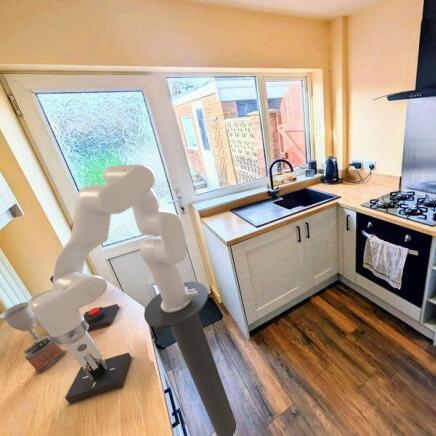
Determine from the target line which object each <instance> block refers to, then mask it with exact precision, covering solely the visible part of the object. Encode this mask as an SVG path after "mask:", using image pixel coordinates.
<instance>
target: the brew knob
mask: <svg viewBox="0 0 436 436" xmlns="http://www.w3.org/2000/svg"><path fill="white" fill-rule="evenodd" d="M103 360H104V359H103V357H102V358H100V359H98V361H99V362H101V364H102V365H103V367H104V368H105V370H107V369H108V368H107V366H106V364H105V363H104V361H103ZM95 362H96V361H95ZM89 366H90V364H89ZM83 369H84V371H85V372H86V374H87V375H88V376H89V378H90V379H91V381H92V380H93V379H94V378H93V377H92V376H91V374H90V373H89V371H88V370H89V369H88V368H83Z"/></svg>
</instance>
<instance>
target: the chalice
mask: <svg viewBox="0 0 436 436" xmlns="http://www.w3.org/2000/svg"><path fill="white" fill-rule="evenodd" d="M0 318H1V319H2V320H5V322H6V323H7V324H8V326H9V327H11V328H13V329H15V330H18V331H20V332H28V333H29V335H30V336H31V339H34V342H33V344H34V343H35V341H37V340H40V339H42V338H43V337H39V334H38V333H36V331H35V330H34V329H32V328H33V327H34V325H35V323H34V322H35V317H34V313H33V312H32V310H31V309H30V308H29V303H28V302H27V301H25V302H20V303H18V304H15V305H12V306H11V307H9V308H7V309H5V310H4V311H3V312H2V313H0Z"/></svg>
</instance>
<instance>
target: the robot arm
mask: <svg viewBox="0 0 436 436" xmlns="http://www.w3.org/2000/svg"><path fill="white" fill-rule="evenodd" d="M102 178H103V181H104V183H105V184H92V185H86V186H84V187H82V188H80V189H79V191H78V192H77V195H76V200H75V206H74V207H75V208H74V215H73V220H72V228H71V235H70V239H69V240H68V241H67V242H66V244H65V245H64V247H63V248H62V250H61V251H60V253H59V255H57V256H58V257H57V259H56V261H55V263H54V267H53V268H54V269H53V275H52V276H53V283H52V289H54V290H52V289H51V290H52V291H49V292H47V293H44V294H43V295H41V296H39V297H38V298H36V299H35V300H34V301H33V302H32V304H31V310H32V312H33V313H34V315H35V316H36V318H37V319H38V320H39V322H40V323H41V324H42V326H43V327H44V328H43V329H44V330H45V332H46V333H47V334H48V336H49V337H50V338H52V340H53V341H54V342H55V344H56V345H58V346H60V347H63V346H64V347H65V348H66V349H67V351H68V352H69V353H70V354H71V356H72V357H73V358H74V359H75V361H76V362H77V363H78V364H79V366H80V367H81V366H82V367H83V368H88V369H89V370H88V371H89V373H90V374H91V376H92V377H93V378H94V379H96V378H97V377H98V376H100V375H101V374H102V373H104V372H105V371H106V370H105V368H104V367H103V365H102V364H101V362H99V361H98V359H100V358H102V359H103V357H104V355H103V353H102V352H101V350H100V349H99V347H98V344H96V342H95V341H94V339H93V338H92V336H91V335H90V333H89V331H87V330H88V328H89V325H88V323H87V322H86V320H85V319H84V317H83V316H84V314H83V313H82V312H81V311H80V309H82V308H83V307H85V306H88V305H90V304H92V303H93V302H95V301H97V300H98V299H100V298H101V297H102V296H103V295H104V294H105V293H106V291H107V289H108V282H107V280H106V279H105V278H104V277H102V276H100V275H96V274H90V273H83V272H84V267H85V262H86V260H87V257H88V255H89V254H90V253H91V252H92V251H93V250H94V249H95V248H97V247H99V246H101V245H103V244H104V243H106V242H107V241H108V240H109V235H110V226H111V218H112V215H119V214H122V213H124V212H127V211H128V209H130V208H132V213H133V216H134V220H135V224H136V227H137V229H138V231H139V233H140V234H142V235H144V236H150V237H147V238H145V239H144V240H143V241H142V242H141V244H140V246H139V255H140V257H141V258H142V260H143V262H144V263H145V264H146V266H147V267H148V270H149V271H150V273H151V276H152V278H153V280H154V283H155V285H156V287H157V290H158V292H159V293H160V295H161V297H162V300H163V301H162V303H161V308H162V310H163V311H164V312H167V313H172V312H176V311H179V310H181V309H183V308H185V307H186V306H187V305H188V304H189V303H190V302H191V300H192V296H196V295H198V291H195V288H194V289H191V290H188V288H187V287H185V286H184V283H185V282H184V281H183V278H182V274H181V271H180V269H179V266H178V264H180V263H181V262H183V261H184V260H185V258H186V256H187V254H188V253H187V252H188V248H187V247H188V245H187V241H186V236H185V232H184V227H183V222H182V219H181V218H180V216H179V215H178V214H177V213H175V212H174V211H171V210H162V209H161V207H160V205H159V201H158V197H157V195H156V193H155V191H154V189H153V187H154V186H155V182H156V176H155V173H154V171H153V170H152V169H151V168H150V167H148V166H146V165H144V164H119V165H111V166H107V167H106V168H105V169H104V170H103V172H102ZM95 361H96V362H95ZM89 364H90V366H89Z"/></svg>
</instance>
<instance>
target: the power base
mask: <svg viewBox="0 0 436 436" xmlns="http://www.w3.org/2000/svg"><path fill="white" fill-rule="evenodd" d="M98 308H99V309H100V311H101V312H100V313H99V314H98V315H96V316H94V317H90V316H89V314H88V312H89V311H90V310H88V311H85V312H84V314H83V317H84V319H85V320H86V322H87V323H88V325H89V328H88V330H87V332H91V331H94V330H97V329H101V328H106V327H109V326H111V325H112V324H113V322H114V319H115V317H116V316H117V314H118V311H119V309H120V306H119V305H118V303H115V304H111V305H108V306H99V307H98Z"/></svg>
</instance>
